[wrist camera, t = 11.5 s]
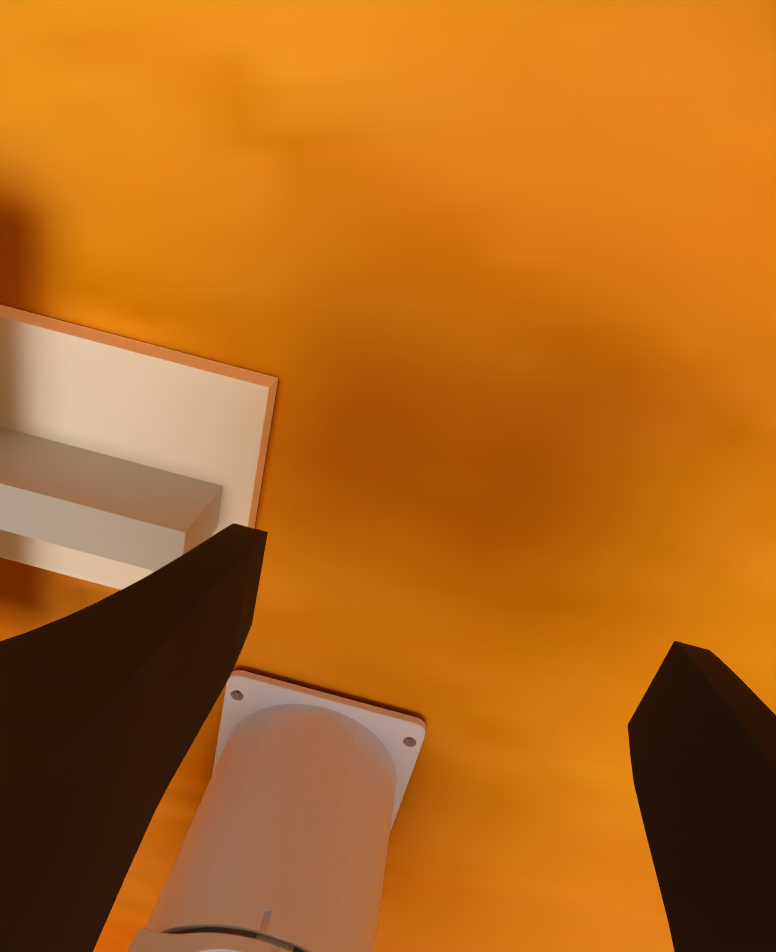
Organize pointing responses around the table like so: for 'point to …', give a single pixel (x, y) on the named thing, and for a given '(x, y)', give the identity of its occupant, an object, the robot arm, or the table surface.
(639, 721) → the robot arm
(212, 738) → the table surface
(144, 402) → the ridge stand
